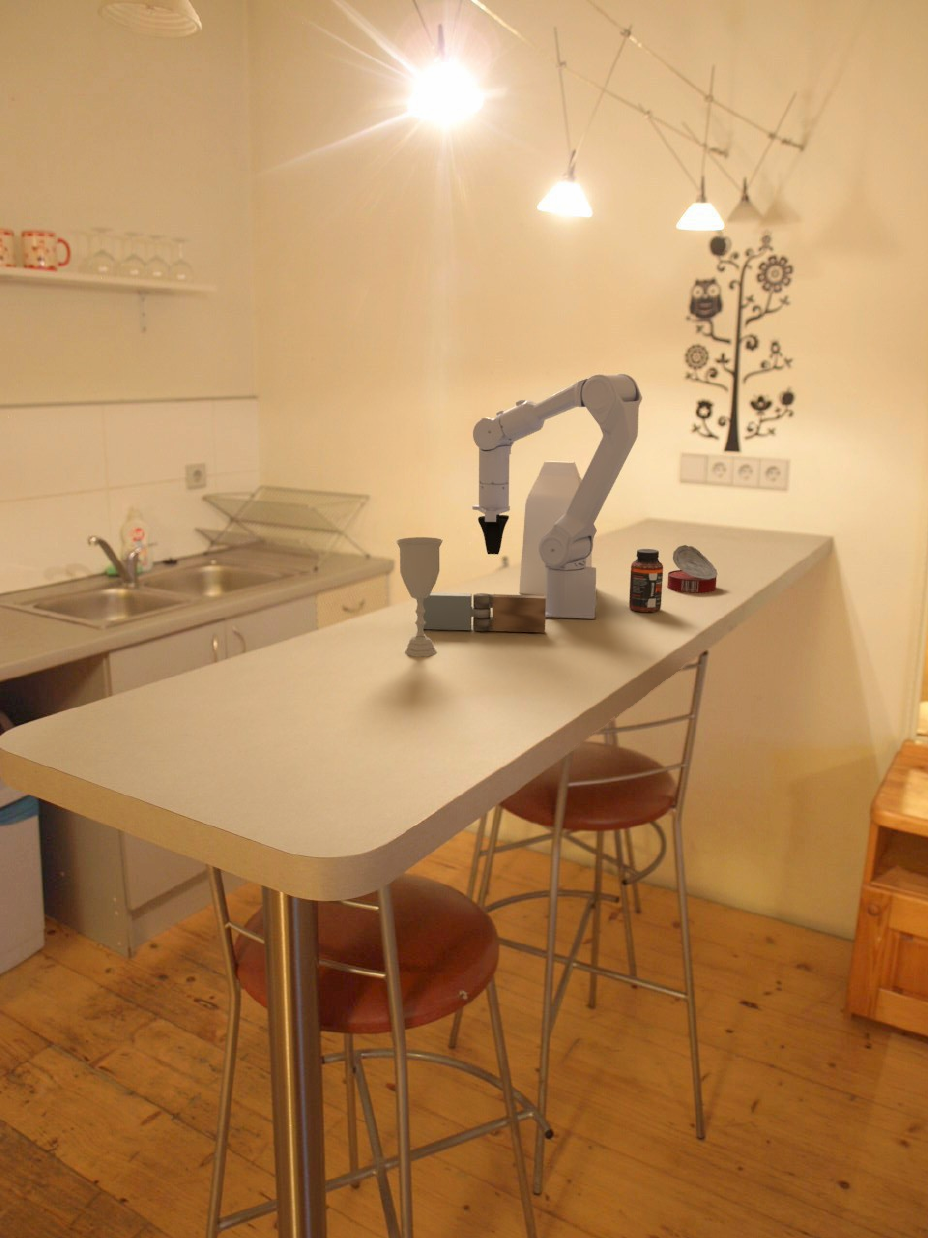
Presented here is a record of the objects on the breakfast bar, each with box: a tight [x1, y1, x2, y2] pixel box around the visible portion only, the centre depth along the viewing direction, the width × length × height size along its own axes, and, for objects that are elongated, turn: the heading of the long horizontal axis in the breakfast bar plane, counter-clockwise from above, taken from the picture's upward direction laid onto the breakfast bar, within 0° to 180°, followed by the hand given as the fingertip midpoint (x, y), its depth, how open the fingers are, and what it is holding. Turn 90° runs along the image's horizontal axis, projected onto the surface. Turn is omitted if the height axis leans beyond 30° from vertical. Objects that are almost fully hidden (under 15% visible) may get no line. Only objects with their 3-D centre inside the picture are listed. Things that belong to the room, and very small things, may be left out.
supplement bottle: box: [628, 548, 664, 613], centre depth 186 cm, size 6×6×11 cm
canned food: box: [666, 544, 718, 594], centre depth 205 cm, size 11×10×10 cm
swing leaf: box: [423, 592, 492, 631], centre depth 172 cm, size 12×3×6 cm, turn 85°
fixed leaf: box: [472, 592, 547, 633], centre depth 171 cm, size 12×3×6 cm, turn 83°
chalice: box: [396, 536, 443, 657], centre depth 158 cm, size 7×7×18 cm
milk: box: [518, 460, 593, 596], centre depth 201 cm, size 12×12×26 cm
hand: (493, 553), depth 191 cm, fingers closed
